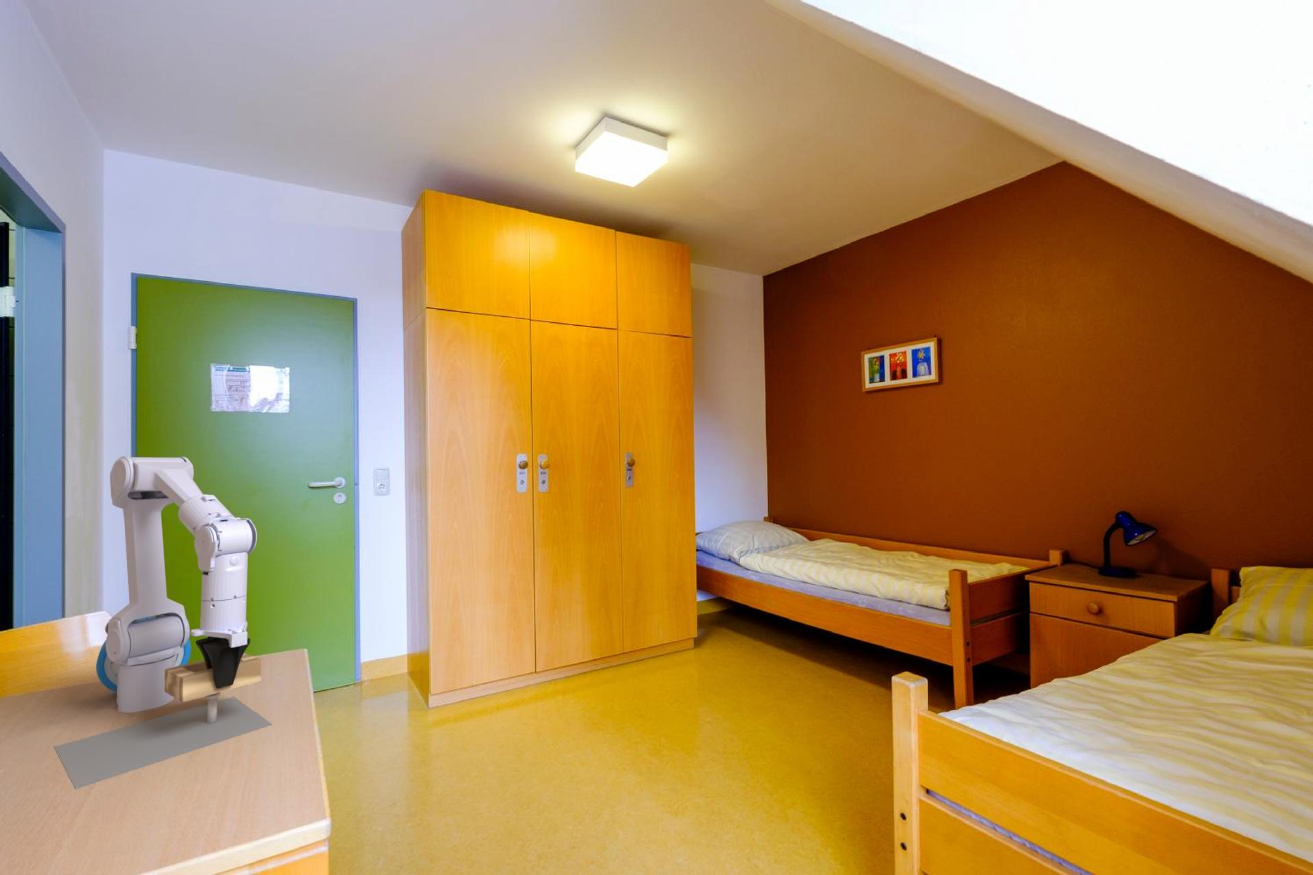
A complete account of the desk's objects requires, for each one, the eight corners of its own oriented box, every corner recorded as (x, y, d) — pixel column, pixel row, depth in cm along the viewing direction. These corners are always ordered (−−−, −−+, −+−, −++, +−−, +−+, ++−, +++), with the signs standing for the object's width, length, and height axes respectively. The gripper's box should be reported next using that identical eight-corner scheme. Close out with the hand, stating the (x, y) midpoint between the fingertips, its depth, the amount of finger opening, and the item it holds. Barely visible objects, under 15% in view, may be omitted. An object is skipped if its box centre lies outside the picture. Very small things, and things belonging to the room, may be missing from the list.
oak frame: (164, 691, 89) (164, 669, 90) (239, 672, 97) (239, 651, 98) (182, 702, 83) (182, 677, 84) (260, 680, 91) (260, 658, 92)
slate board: (53, 754, 82) (55, 716, 83) (233, 703, 100) (234, 671, 100) (75, 798, 72) (77, 753, 72) (272, 731, 89) (273, 696, 90)
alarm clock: (94, 705, 100) (97, 619, 100) (97, 694, 104) (100, 612, 105) (190, 685, 108) (192, 607, 109) (188, 676, 113) (191, 601, 114)
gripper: (178, 595, 90) (176, 681, 89) (207, 609, 81) (204, 704, 81) (231, 587, 96) (229, 668, 95) (264, 599, 87) (261, 688, 86)
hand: (221, 684), depth 88 cm, fingers closed on oak frame, 2 cm apart
